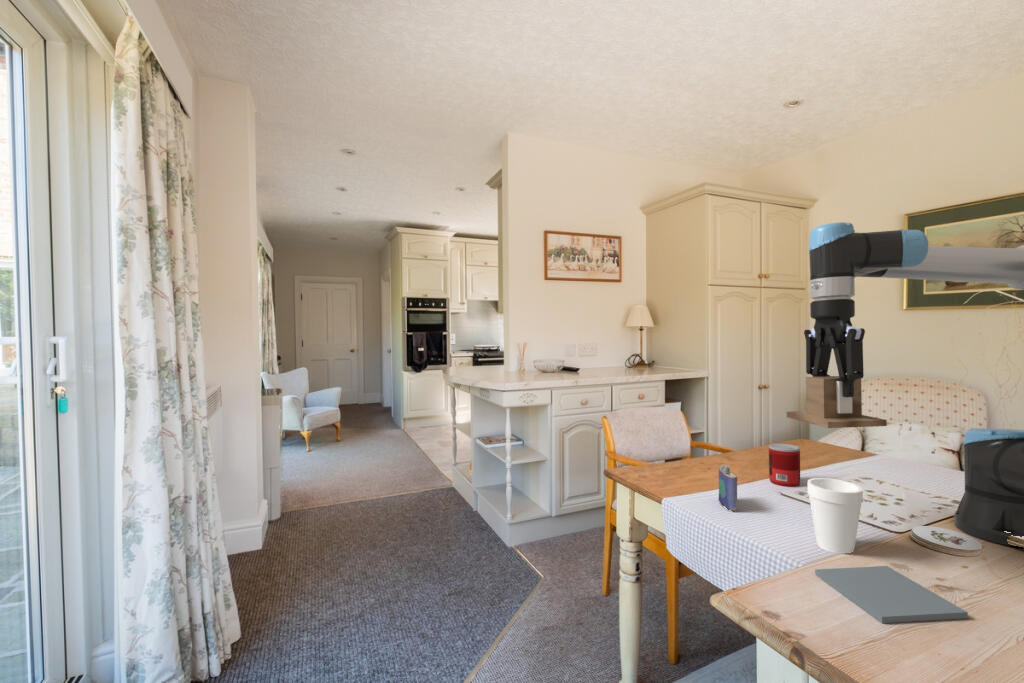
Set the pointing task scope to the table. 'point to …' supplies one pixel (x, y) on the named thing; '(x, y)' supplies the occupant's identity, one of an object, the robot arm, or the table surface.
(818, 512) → the foam cup
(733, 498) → the flask
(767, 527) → the table surface
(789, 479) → the canned food
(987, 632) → the table surface
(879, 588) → the mat
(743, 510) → the table surface
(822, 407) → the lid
